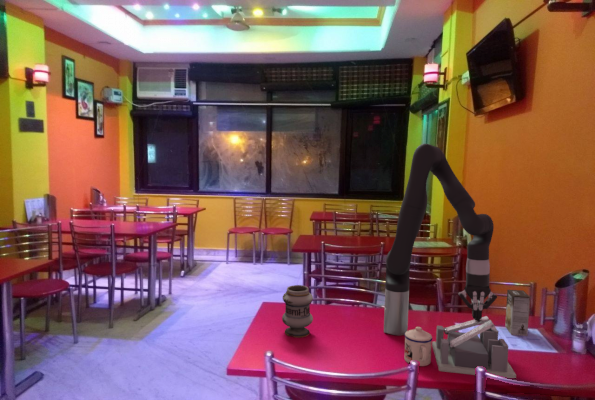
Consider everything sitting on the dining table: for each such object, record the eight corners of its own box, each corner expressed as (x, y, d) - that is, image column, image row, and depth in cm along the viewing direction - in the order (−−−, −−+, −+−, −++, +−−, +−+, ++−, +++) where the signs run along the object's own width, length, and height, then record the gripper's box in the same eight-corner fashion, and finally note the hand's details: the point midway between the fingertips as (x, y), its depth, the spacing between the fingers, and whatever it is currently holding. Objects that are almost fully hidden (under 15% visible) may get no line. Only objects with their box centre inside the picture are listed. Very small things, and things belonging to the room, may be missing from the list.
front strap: (452, 351, 137) (448, 345, 137) (451, 347, 140) (447, 341, 140) (496, 328, 134) (492, 322, 134) (493, 324, 137) (490, 319, 137)
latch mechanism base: (438, 370, 136) (440, 341, 135) (432, 345, 156) (433, 319, 155) (515, 379, 131) (517, 348, 131) (498, 351, 151) (500, 324, 150)
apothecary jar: (276, 335, 162) (277, 289, 161) (289, 324, 173) (289, 282, 172) (306, 341, 157) (307, 294, 156) (316, 329, 169) (317, 285, 167)
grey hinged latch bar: (446, 337, 149) (443, 331, 149) (444, 333, 152) (442, 327, 152) (490, 324, 145) (488, 318, 145) (488, 321, 148) (486, 315, 148)
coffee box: (504, 326, 176) (506, 288, 174) (520, 327, 174) (523, 290, 173) (510, 335, 167) (513, 295, 165) (528, 336, 165) (531, 296, 164)
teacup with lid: (400, 354, 147) (401, 322, 146) (426, 354, 148) (427, 322, 147) (410, 371, 135) (412, 336, 135) (438, 371, 136) (440, 336, 135)
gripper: (459, 273, 144) (458, 322, 145) (501, 274, 142) (500, 324, 143) (455, 268, 152) (455, 315, 153) (495, 269, 149) (494, 317, 150)
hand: (476, 319), depth 148 cm, fingers closed
